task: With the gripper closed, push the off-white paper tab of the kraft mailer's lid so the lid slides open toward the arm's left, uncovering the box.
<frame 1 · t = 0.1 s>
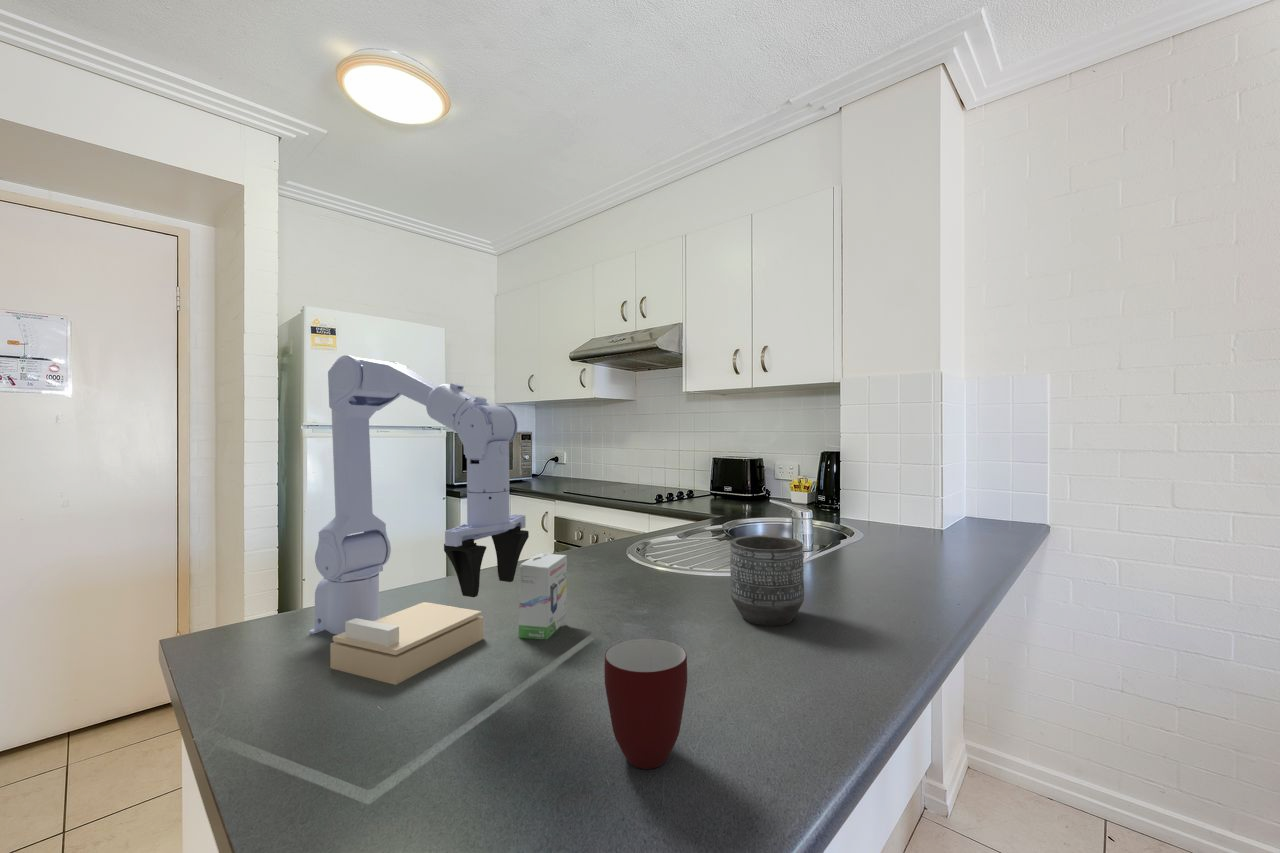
hand: (489, 588, 75), 10 cm above the countertop, fingers open, 7 cm apart
mailer lid: (411, 618, 76), point 6 cm above the countertop, slide at 0.0 cm
mug: (642, 751, 53), on the countertop
soap bar: (394, 660, 73), point 1 cm above the countertop, touching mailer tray
ink box: (543, 634, 84), on the countertop
planter: (767, 618, 91), on the countertop
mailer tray: (411, 657, 76), on the countertop
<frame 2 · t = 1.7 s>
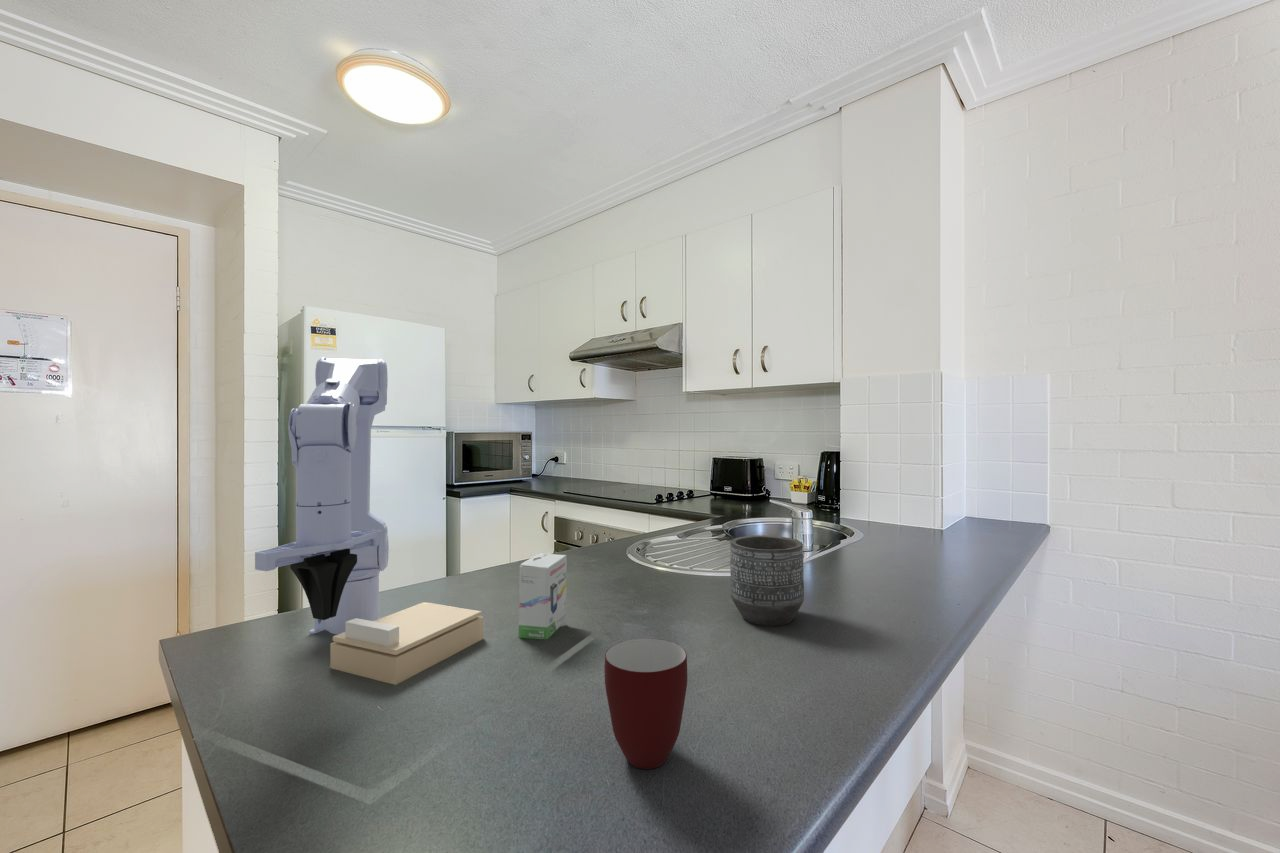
hand: (324, 617, 64), 10 cm above the countertop, fingers closed
nothing on the countertop moved.
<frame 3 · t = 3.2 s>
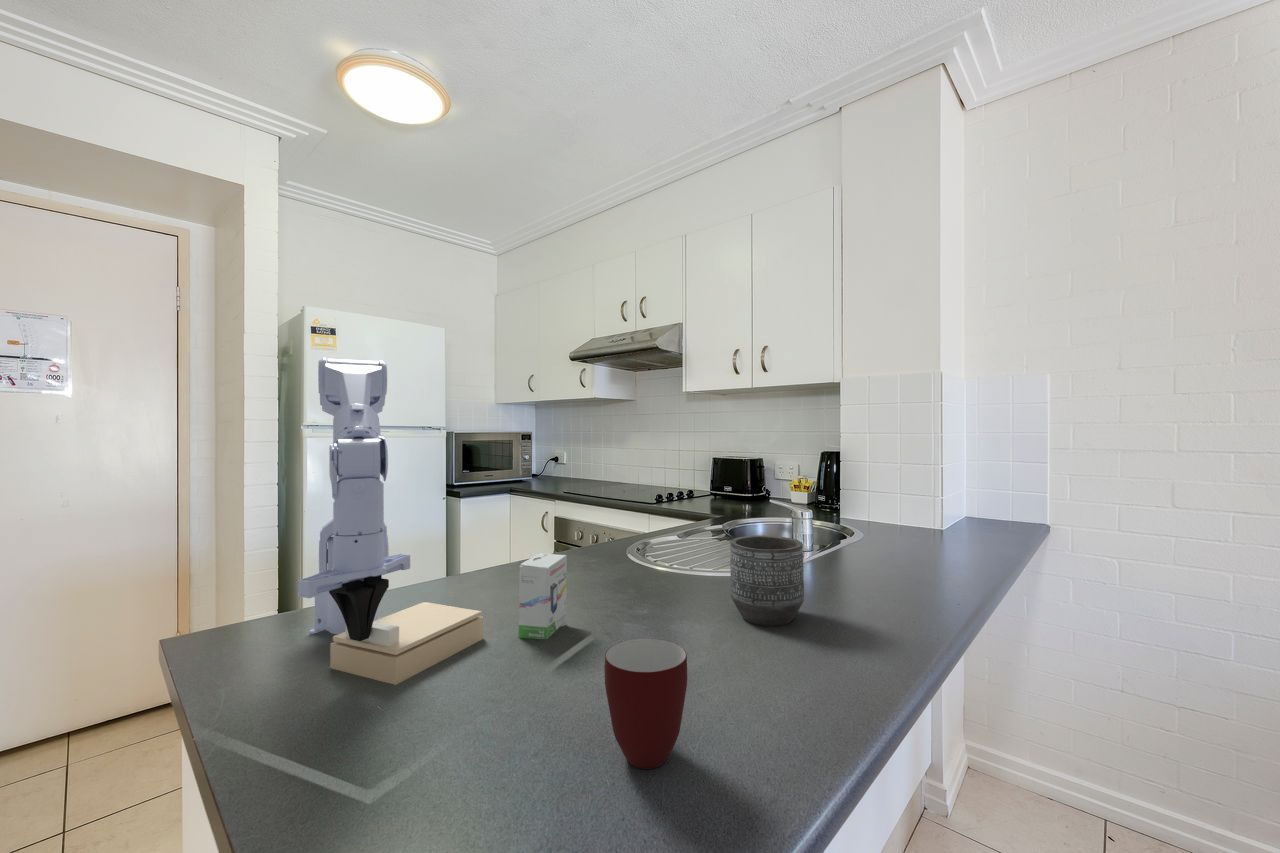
hand: (359, 638, 68), 6 cm above the countertop, fingers closed
mailer lid: (411, 618, 76), point 6 cm above the countertop, slide at 0.0 cm, touching gripper
everything else where it was.
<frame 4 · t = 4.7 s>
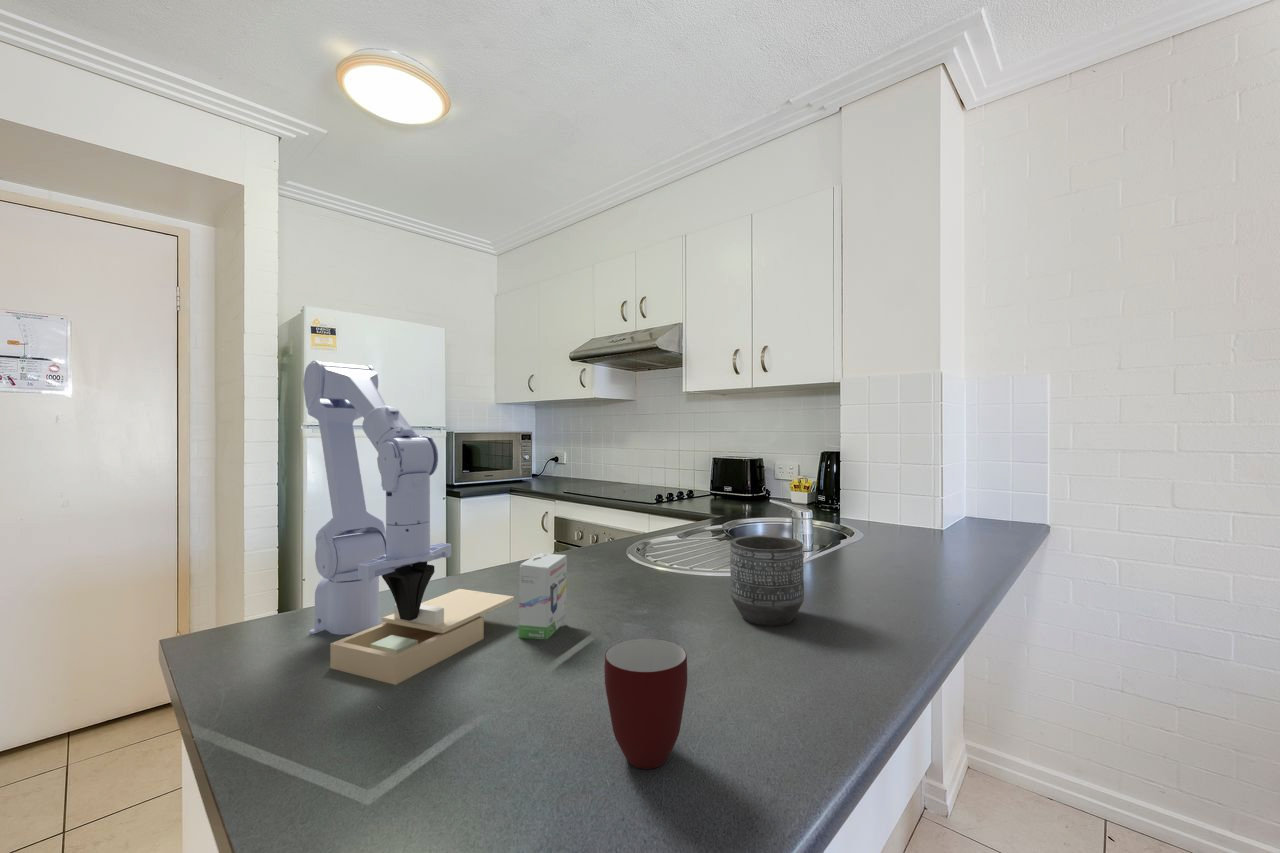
hand: (408, 618, 75), 6 cm above the countertop, fingers closed
mailer lid: (451, 602, 83), point 6 cm above the countertop, slide at 7.8 cm, touching gripper
everything else where it was.
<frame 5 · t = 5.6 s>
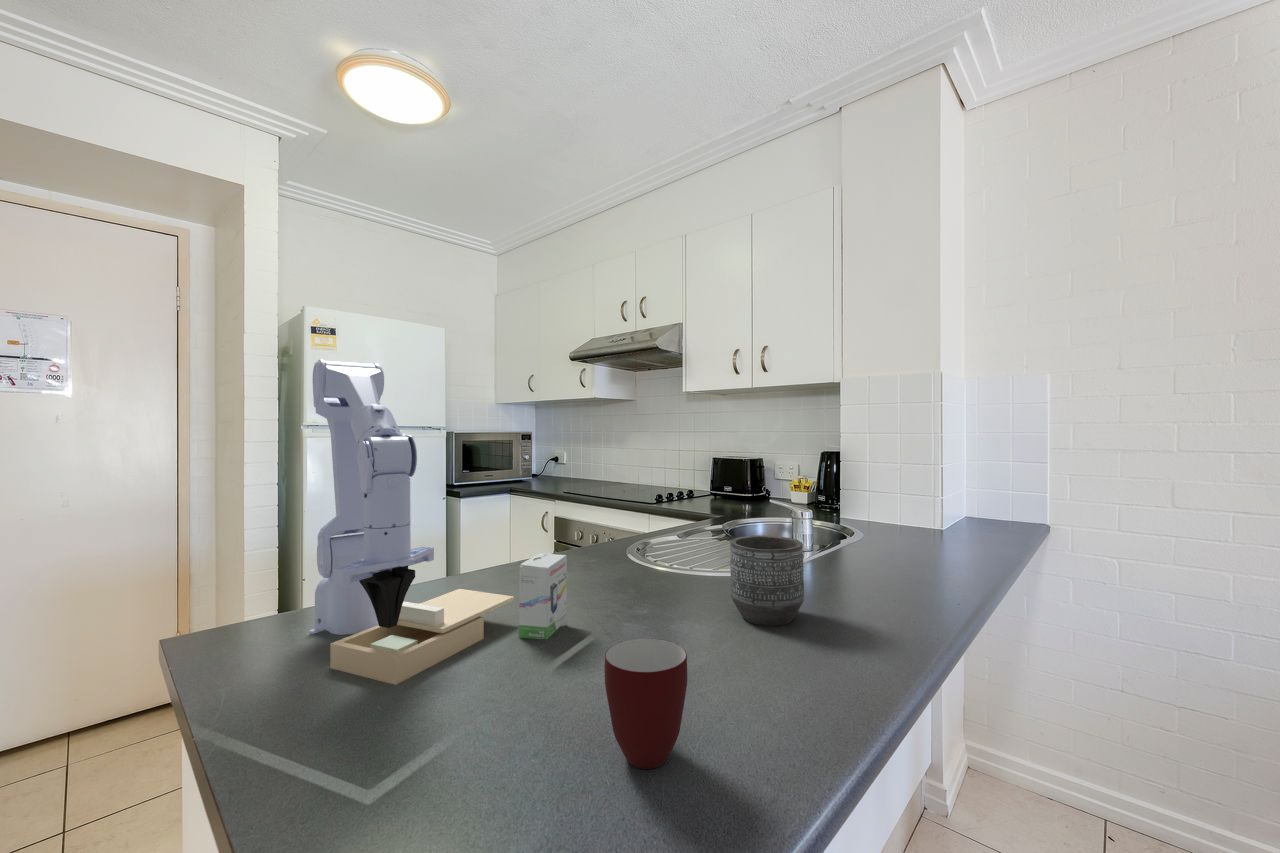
hand: (388, 625, 72), 6 cm above the countertop, fingers closed
mailer lid: (451, 602, 83), point 6 cm above the countertop, slide at 7.8 cm
everything else where it was.
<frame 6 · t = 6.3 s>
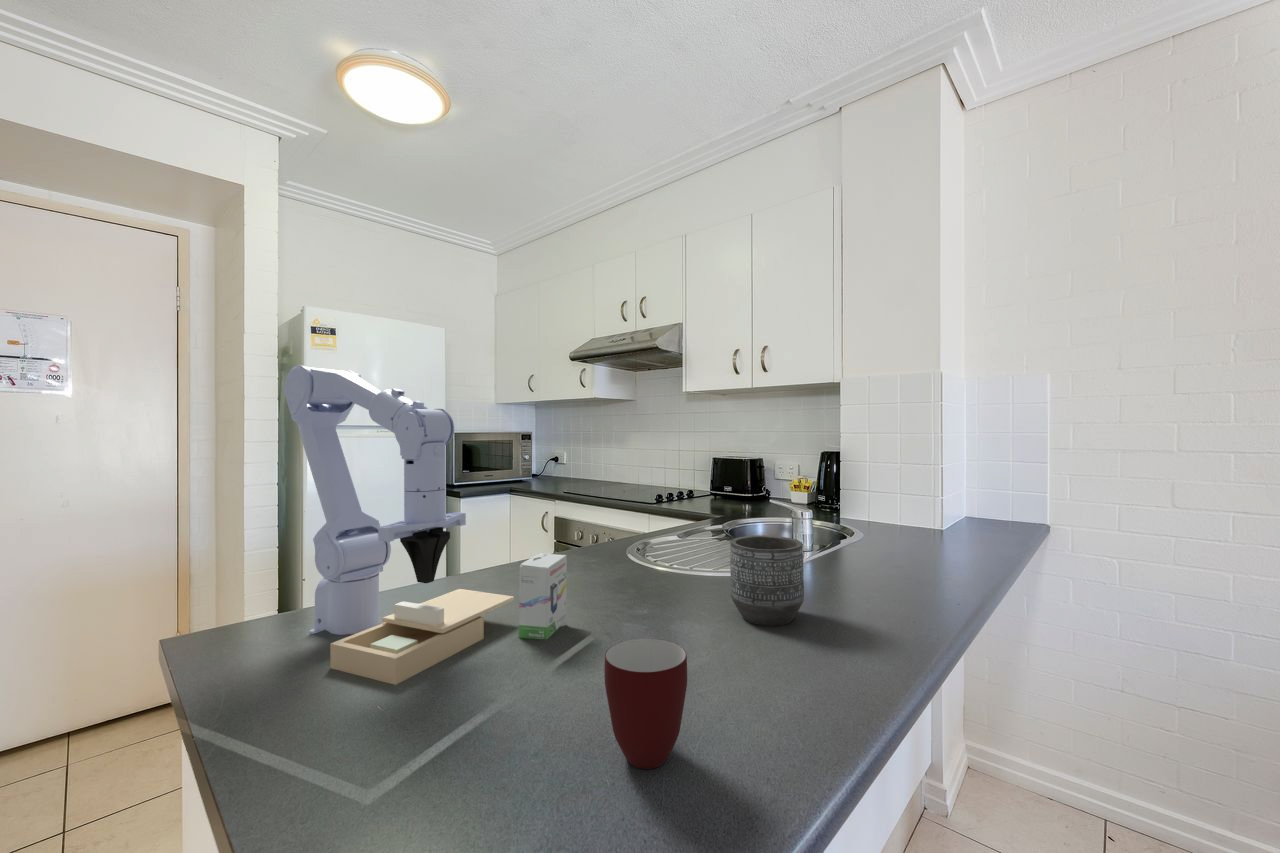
hand: (425, 581, 79), 10 cm above the countertop, fingers closed
nothing on the countertop moved.
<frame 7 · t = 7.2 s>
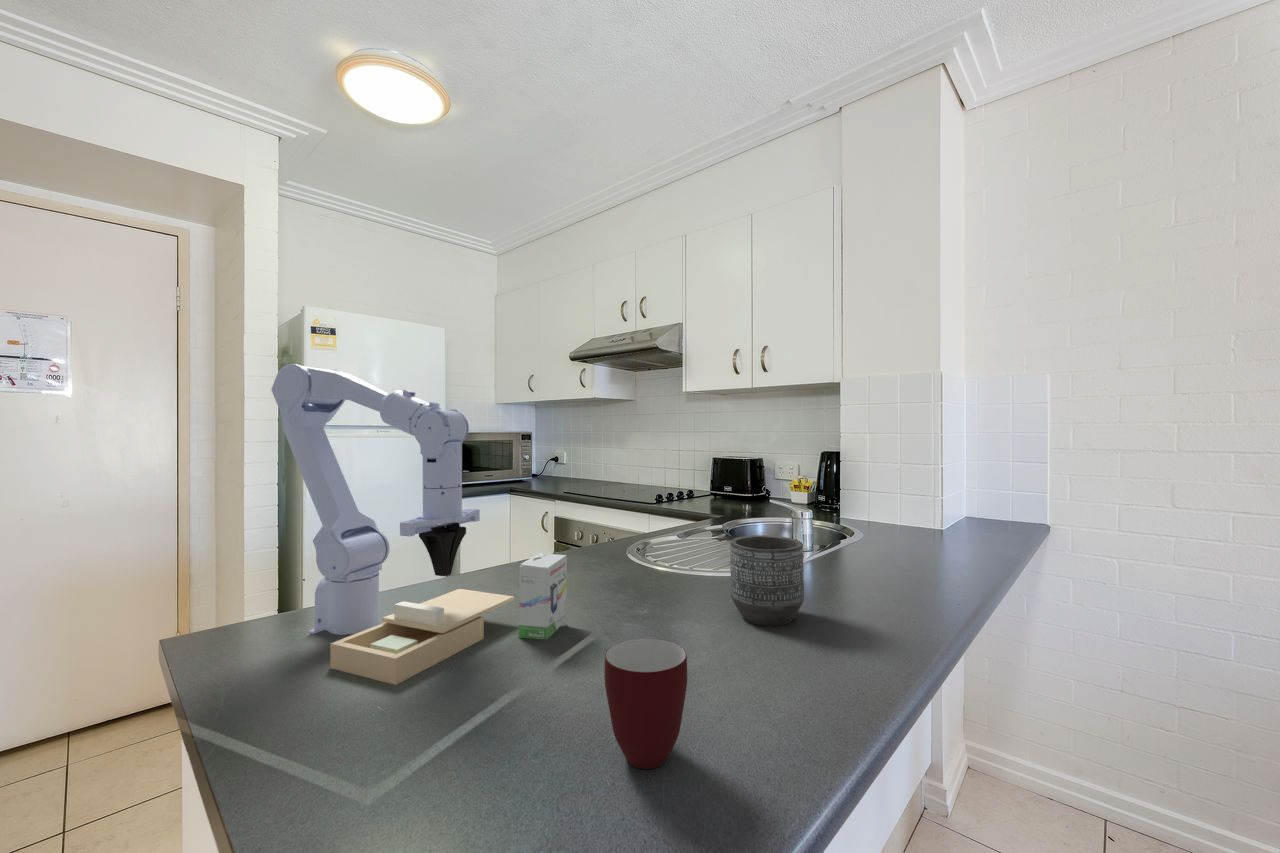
hand: (443, 574, 83), 10 cm above the countertop, fingers closed
nothing on the countertop moved.
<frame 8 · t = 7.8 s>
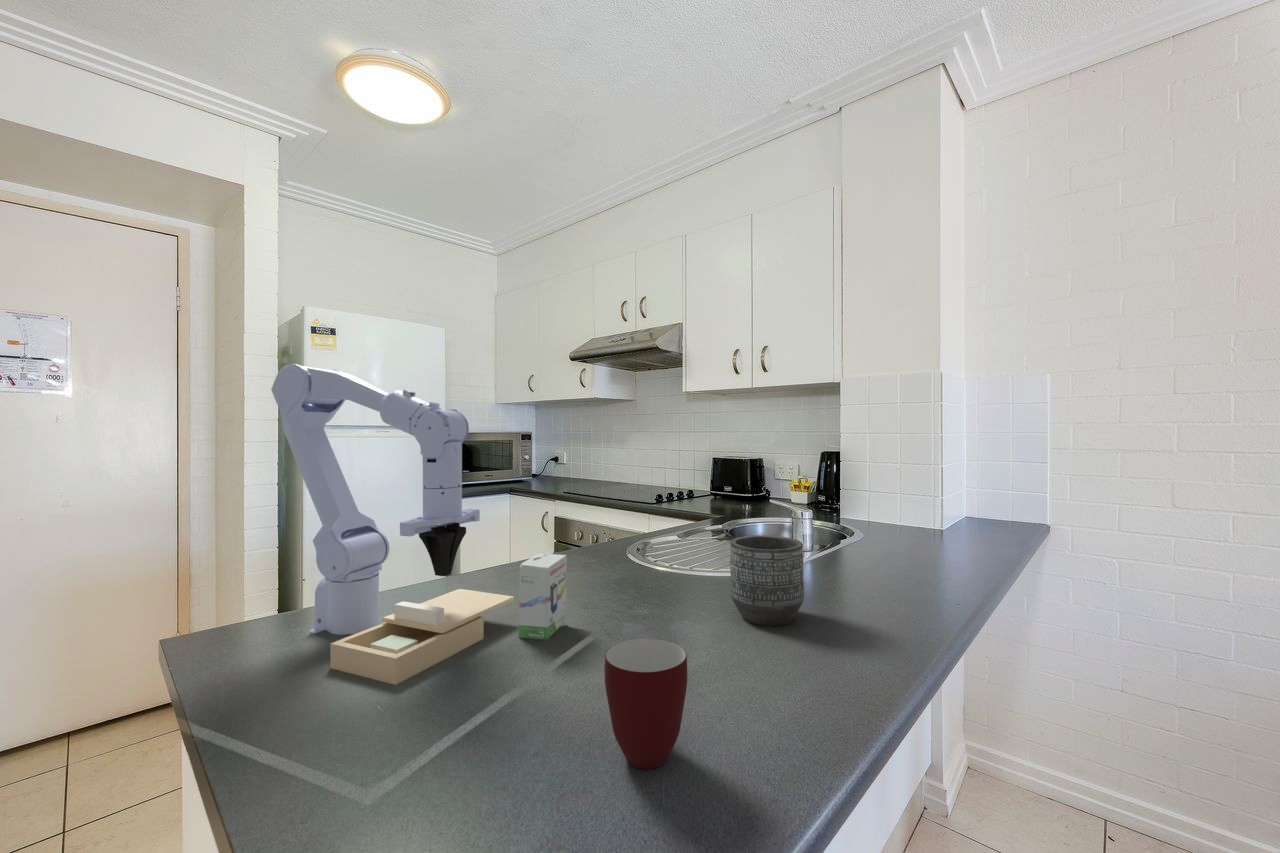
hand: (443, 574, 83), 10 cm above the countertop, fingers closed
nothing on the countertop moved.
at the end: mailer lid slide at 7.8 cm; mailer lid touching nothing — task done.
